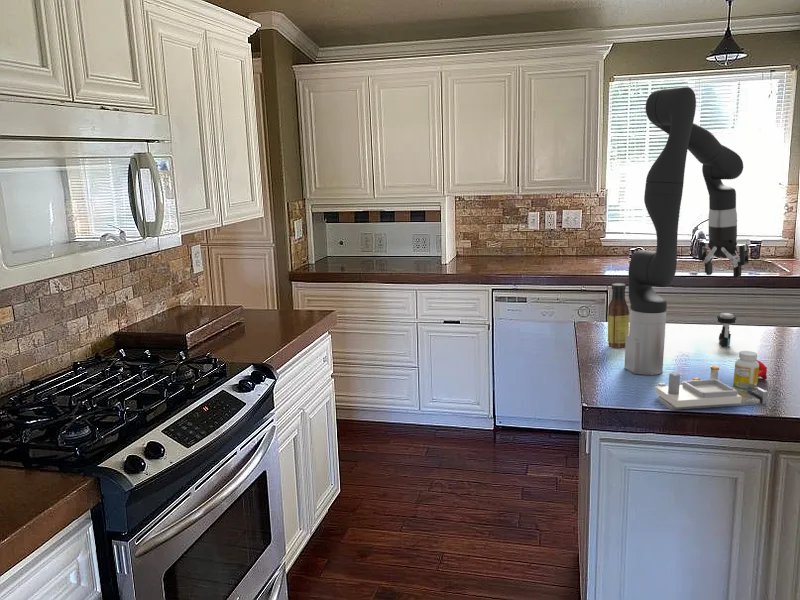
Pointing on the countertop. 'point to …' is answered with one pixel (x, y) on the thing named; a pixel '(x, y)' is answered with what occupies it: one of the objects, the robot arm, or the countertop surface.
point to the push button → (725, 328)
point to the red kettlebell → (762, 370)
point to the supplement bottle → (745, 370)
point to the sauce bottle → (618, 317)
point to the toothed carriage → (696, 392)
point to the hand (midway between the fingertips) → (722, 276)
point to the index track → (748, 398)
